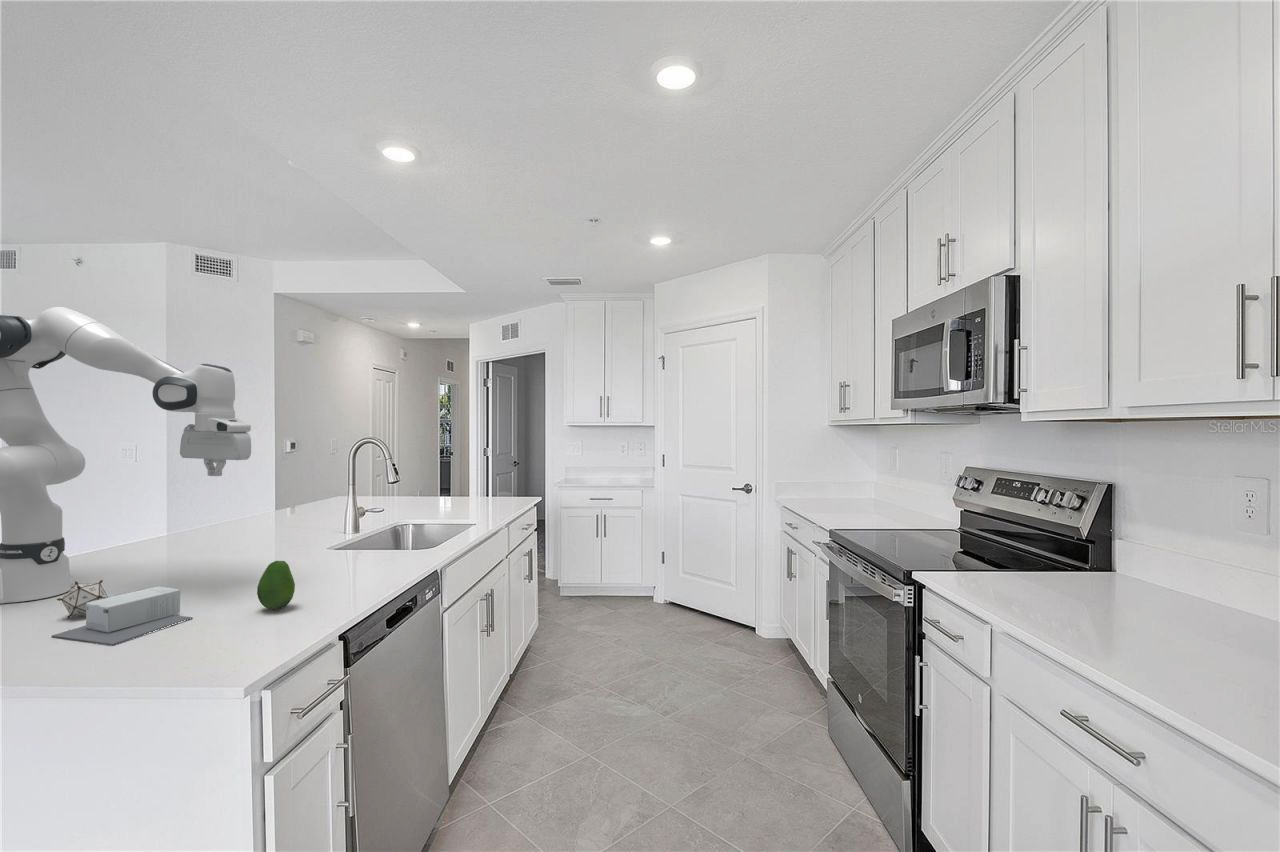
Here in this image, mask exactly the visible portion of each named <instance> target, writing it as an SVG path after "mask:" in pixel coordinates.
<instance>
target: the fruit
mask: <svg viewBox="0 0 1280 852" xmlns="http://www.w3.org/2000/svg"><path fill="white" fill-rule="evenodd" d="M295 587H296V584H295V580H294V577H293V575H292V571H291V569H290V566H289V564H288V563H287V562H286V561H285V560H275V561H273V562H272V561H271V563H269V564H268V565H267V567H266V568H265V570H264V572H263V574H262V575H261V577H260V579H259V582H258V585H257V590H256V591H257V593H256V594H257V599H258V601H259V603H260V604H261V605H262V606H263V607H264V608H265V609H267V610H270V611H279V610H282V609H283V608H285V607H287V606H288V605H289V603H290V602H291V601H292V600H293V597H294V594H295V591H296V590H295V589H296V588H295Z"/></svg>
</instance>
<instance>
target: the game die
mask: <svg viewBox="0 0 1280 852" xmlns="http://www.w3.org/2000/svg"><path fill="white" fill-rule="evenodd" d="M74 581H75V580H74ZM102 583H103V579H100V580H99V582H91V583H90V582H89V583H88V582H87V583H79V582H78V581H75V584H76V585H75V586H73V587H71V590H69V591H68V592H66V594H65V595H64V596H63V597H61V598H60V597H59V598H56V600H57V601H62V603H63V605H64V607H65V609H66V611H67V612H68V614H69V615H68V616H67V619H71V617H72V616H84V615H85V616H86V603H87V602H92V601H96V600H100V599H105V598H109V596H108V595H107V593H106V591H105V590H104V587H103V586H102Z"/></svg>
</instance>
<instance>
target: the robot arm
mask: <svg viewBox="0 0 1280 852" xmlns="http://www.w3.org/2000/svg"><path fill="white" fill-rule="evenodd" d="M66 355H67V356H69V357H70V358H72V359H74V360H75V361H78V362H80V363H81V364H84V365H87V366H89V367H92V368H95V369H98V370H102V371H109V372H113V373H114V372H117V373H122V374H126V375H127V374H128V375H133V376H137V377H140V378H143V379H145V380H147V381H150V382H152V383H153V384H154V385H153V387H152V391H151V392H152V399H153V401H154V403H155V404H156V405H157V407H159V408H161V409H163V410H166V411H167V412H176V413H194V424H193V423H190V424H187V426H185V427H184V428H183V433H182V434H181V435H182V436H181V438H180V446H179V455H180V457H181V458H182V459H201V460H203V464H204V466H205V468H206V470H207V476H209V477H222V476H223V470H224V467H225V466H226V464H227V461H228V460H229V461H247V460H249V459H250V457H251V454H252V437H251V434H250V432H251V429H252V427H251V424H250V423H248V422H245V421H243V420H240V419H239V418H236V411H235V409H234V408H235V407H234V404H235V400H236V383H235V381H236V380H235V377H234V374H233V371H232V370H231V369H230V368H227V367H226V366H220V365H215V364H210V363H201V364H198V365H197V366H195V367H193V369H190V370H187V371H182V370H180V369H179V368H177V367H175V366H173V365H171V364H169V363H168V362H165V361H163V360H162V359H159V358H158V357H156V356H154V355H153V354H151V353H149V352H147V351H146V350H144V349H143V348H141V347H139V346H138V345H136V344H135V343H133V342H132V341H130V340H128V339H127V338H126V337H124V336H123V335H121V334H119V333H118V332H116V331H115V330H113V329H112V328H110V327H108V326H107V325H105V324H104V323H102V322H99V320H97V319H94V318H92V317H90V316H88V315H86V314H84V313H82V312H79V311H76V310H74V309H71V308H68V307H66V306H52V307H49V308H47V309H44V310H43V311H42V312H41V313H40V314H38V315H37V317H36V318H34V319H29V318H24V317H22V316H18V315H17V316H16V315H4V314H0V439H1V440H2V441H4V443H6V445H7V446H2V447H0V520H1V521H0V522H1V523H0V525H1V542H0V605H1V604H8V603H9V604H10V603H20V602H21V603H22V602H26V601H27V602H29V601H35V600H41V599H46V598H51V597H55V596H59V595H63V594H65V593H68V592H69V591H70V590H71V589H72V588H73V587H74V586H75V585H76V584H75V580H72V576H71V569H70V567H71V566H70V560H69V559H70V558H69V557H68V556H67V555H66V554H64V551H65V550H66V549H65V547H66V541H65V537H63V509H62V507H61V506H60V505H58V504H57V503H55V502H53V500H52V499H51V497H50V495H49V492H48V490H47V486H54V485H59V484H63V483H65V482H68V481H72V479H75V478H77V477H79V476H80V475H81V474H82V473H83V472H84V470H85V467H86V458H85V455H84V454H83V453H82V451H81V450H80V449H78V448H76V447H74V446H73V445H71V444H70V443H68V442H67V441H66V440H65V439H63V437H62V436H61V435H60V434H59V433H58V432H57V431H56V429H55V428H54V427H53V426H52V424H51V423H50V422H49V420H48V419H47V417H46V415H45V413H44V411H43V409H42V405H41V403H40V401H39V398H38V397H37V394H36V392H35V389H34V387H33V385H32V381H31V379H30V376H29V374H30V373H29V372H30V369H39V370H40V369H42V368H45V367H46V366H47V365H49V364H52V363H54V362H57V361H59V360H61V359H63V358H64V357H65V356H66Z"/></svg>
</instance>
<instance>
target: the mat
mask: <svg viewBox="0 0 1280 852" xmlns="http://www.w3.org/2000/svg"><path fill="white" fill-rule="evenodd" d="M190 618H192V619H193V617H192V616H185V615H178V614H175V615H172V616H168V617H164V618H161V619H157V620H153V621H150V622H146V623H142V624H138V625H135V626H131V627H127V628H123V629H120V630H116V631H112V632H109V633H107V632H102V631H98V630H93V629H88V628H86V624H85V625H83V626H80V627H76V628H71V629H69V630H66V631H63V632H59V633H56V634H53V635H52V634H51V638H52V639H53V638H54V639H60V640H68V641H75V642H81V643H89V644H96V643H97V644H96V645H103V644H105V645H104V646H110V645H112V646H111V647H114V646H116V644H117V645H120V644H123V643H126V642H129V641H131V640H130V639H132V640H134V639H133V638H135V639H137V638H136V637H138V638H140V637H139V636H141V637H143V636H142V635H144V634H147V633H149V632H153V631H155V630H158V629H161V628H164V627H167V626H169V625H172V624H175V623H178V622H181V621H184V620H187V619H190ZM167 628H168V627H167ZM164 629H165V628H164ZM161 630H162V629H161ZM158 631H159V630H158ZM155 632H156V631H155ZM153 633H154V632H153ZM147 635H148V634H147ZM144 636H145V635H144ZM128 640H129V641H128ZM125 641H126V642H125ZM122 642H123V643H122ZM119 643H120V644H119ZM113 645H114V646H113Z"/></svg>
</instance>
